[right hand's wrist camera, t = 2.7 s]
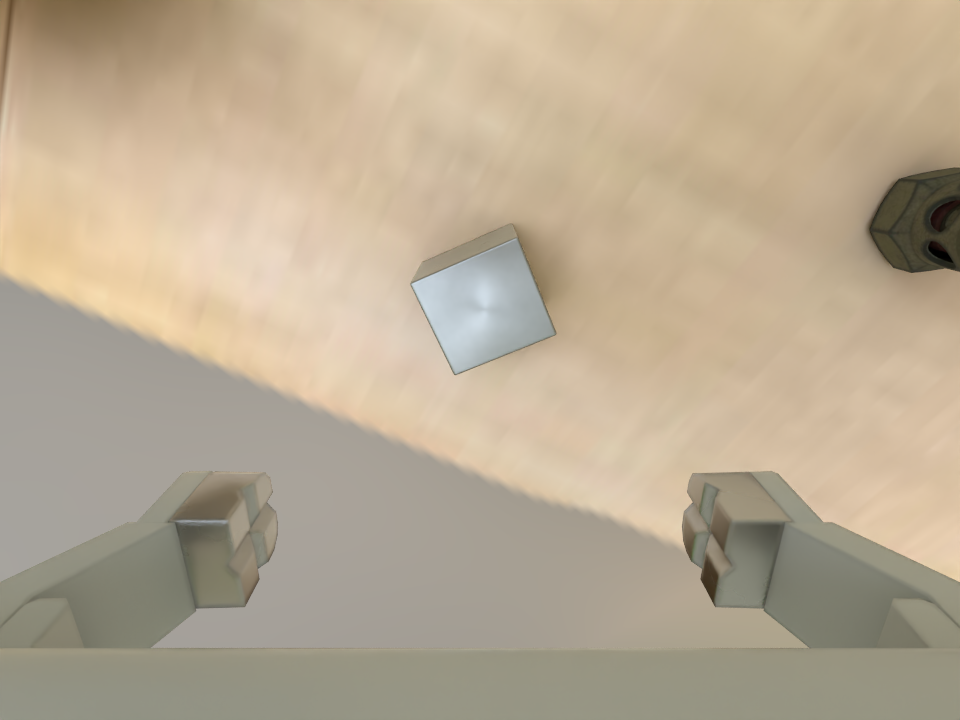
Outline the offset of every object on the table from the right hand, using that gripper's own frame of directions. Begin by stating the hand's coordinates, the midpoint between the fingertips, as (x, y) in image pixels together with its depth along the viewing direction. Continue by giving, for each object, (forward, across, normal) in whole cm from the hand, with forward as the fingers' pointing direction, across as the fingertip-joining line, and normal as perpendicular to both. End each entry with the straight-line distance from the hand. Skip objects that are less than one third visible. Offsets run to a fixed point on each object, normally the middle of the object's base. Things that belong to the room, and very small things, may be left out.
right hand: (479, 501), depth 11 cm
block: (+19, 0, 0) cm, 19 cm away
